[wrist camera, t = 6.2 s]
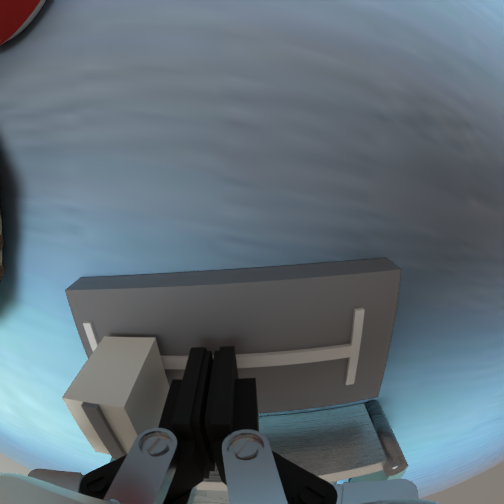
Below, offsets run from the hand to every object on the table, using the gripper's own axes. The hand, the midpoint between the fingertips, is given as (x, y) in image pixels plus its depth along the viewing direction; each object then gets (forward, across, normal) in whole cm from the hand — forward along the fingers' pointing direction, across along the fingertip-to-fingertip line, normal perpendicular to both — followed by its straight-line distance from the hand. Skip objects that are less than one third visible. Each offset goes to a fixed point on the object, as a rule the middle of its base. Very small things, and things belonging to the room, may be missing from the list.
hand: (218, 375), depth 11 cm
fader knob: (+1, +4, 0) cm, 4 cm away
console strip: (+3, 0, 0) cm, 3 cm away
